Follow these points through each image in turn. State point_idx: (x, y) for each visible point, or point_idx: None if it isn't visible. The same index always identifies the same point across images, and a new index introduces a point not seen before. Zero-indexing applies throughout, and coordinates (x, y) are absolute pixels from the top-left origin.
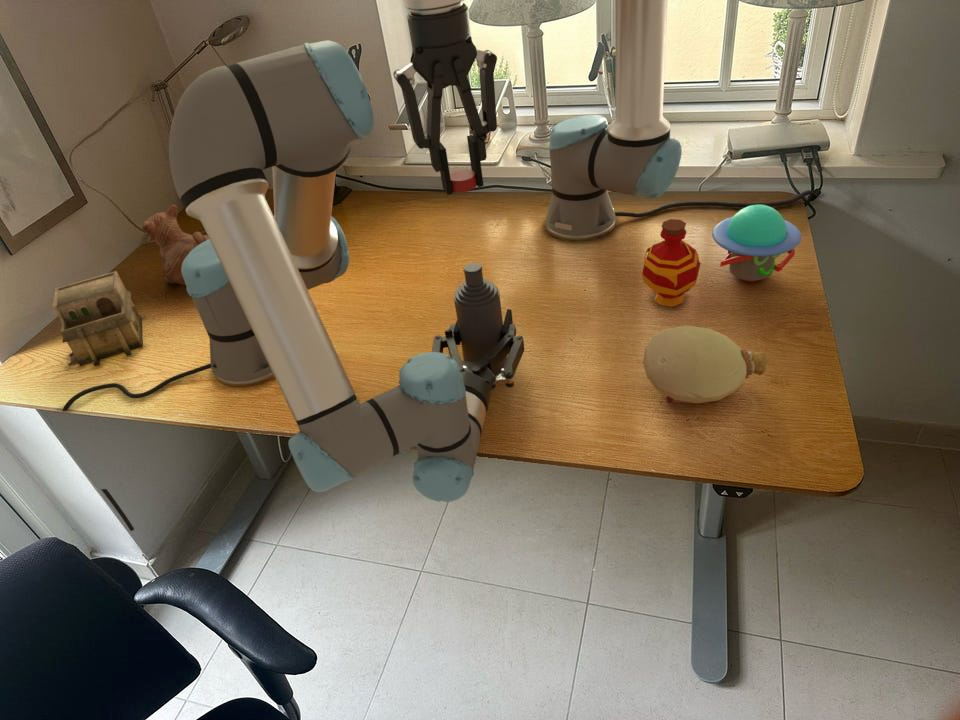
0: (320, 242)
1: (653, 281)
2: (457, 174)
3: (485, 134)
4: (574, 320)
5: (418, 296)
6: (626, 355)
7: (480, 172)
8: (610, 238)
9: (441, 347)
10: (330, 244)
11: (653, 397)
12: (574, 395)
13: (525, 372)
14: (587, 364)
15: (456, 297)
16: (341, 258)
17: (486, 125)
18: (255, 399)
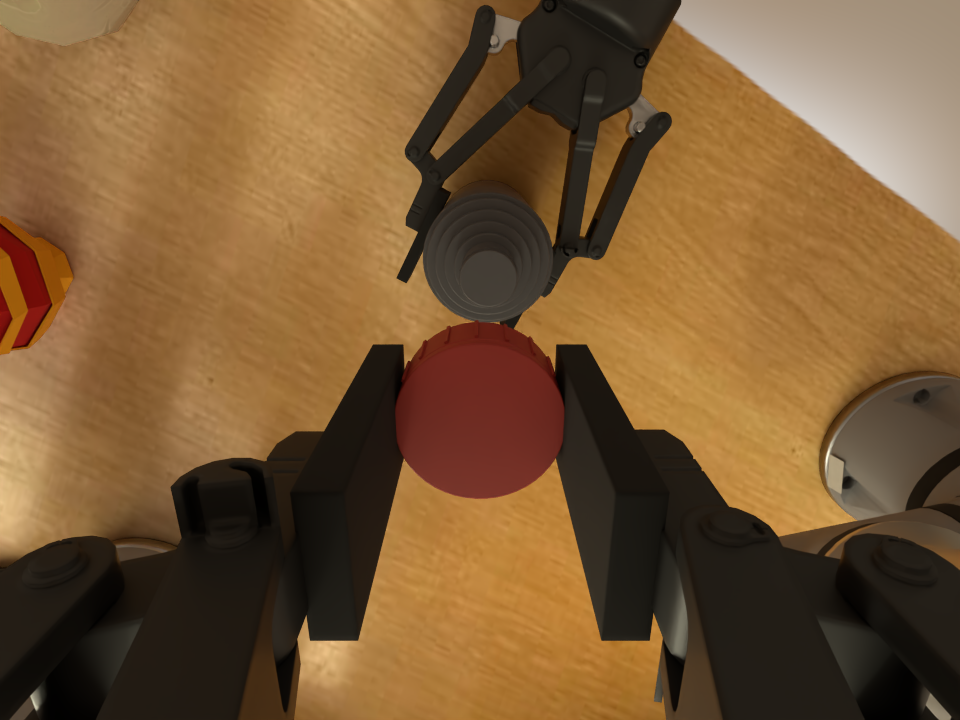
0: None
1: (32, 260)
2: (498, 443)
3: (179, 502)
4: (263, 289)
5: (543, 510)
6: (192, 118)
7: (365, 374)
8: (104, 528)
9: (589, 237)
10: None
11: None
12: (343, 34)
13: None
14: (283, 127)
15: (548, 257)
16: None
17: (113, 616)
18: (946, 330)
